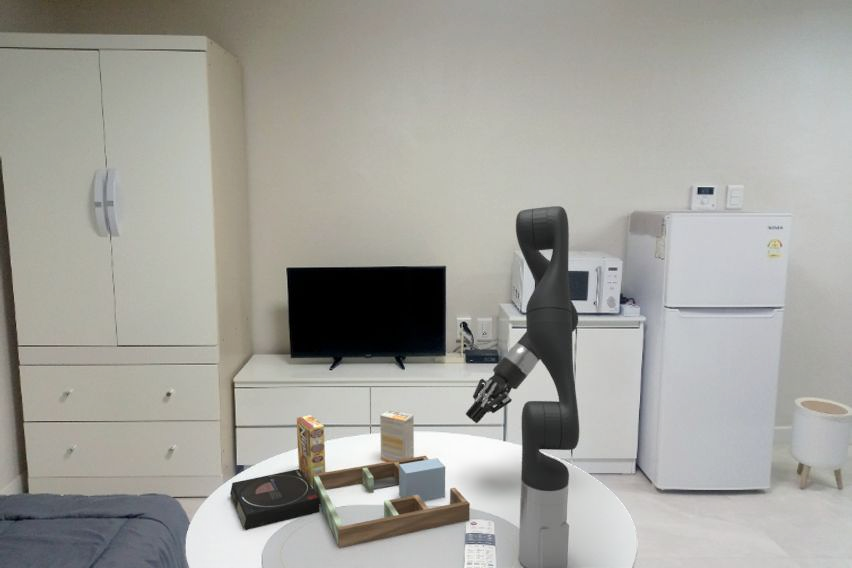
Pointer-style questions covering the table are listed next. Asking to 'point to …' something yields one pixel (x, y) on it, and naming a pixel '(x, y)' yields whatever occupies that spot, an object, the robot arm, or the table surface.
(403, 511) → the frame
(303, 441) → the candy box
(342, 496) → the table surface
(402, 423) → the supplement box
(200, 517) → the table surface
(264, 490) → the portable cd player
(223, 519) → the table surface
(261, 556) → the table surface
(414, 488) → the brick
